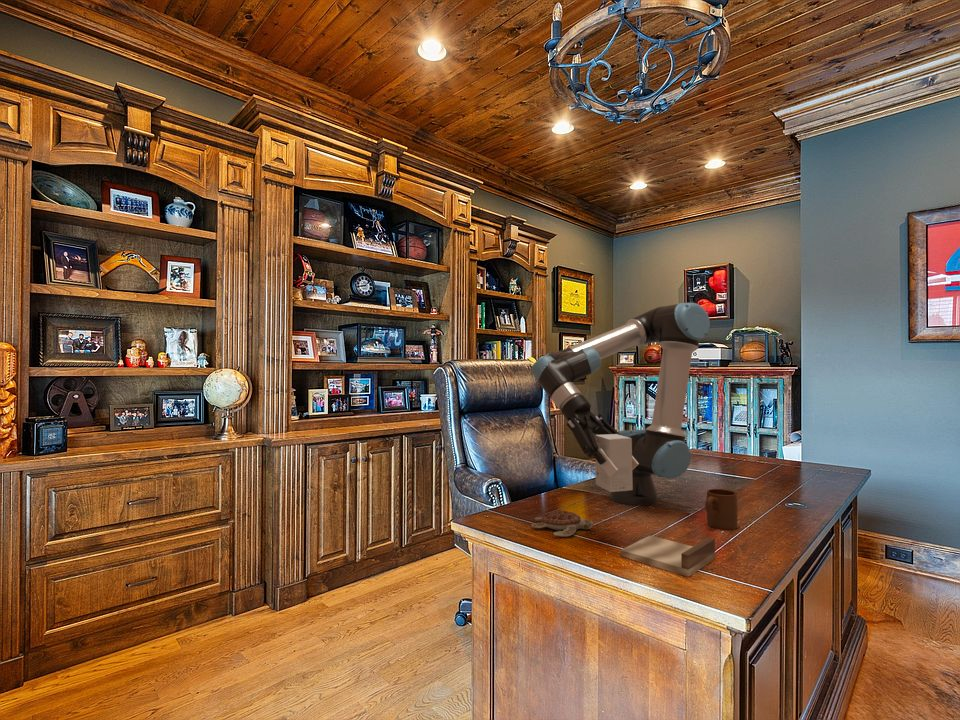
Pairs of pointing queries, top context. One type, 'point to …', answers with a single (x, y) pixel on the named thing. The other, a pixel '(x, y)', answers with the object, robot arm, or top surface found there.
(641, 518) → the top surface
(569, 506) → the top surface
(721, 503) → the mug
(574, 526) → the decorative turtle
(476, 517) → the top surface
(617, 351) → the robot arm
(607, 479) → the small box
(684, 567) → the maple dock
